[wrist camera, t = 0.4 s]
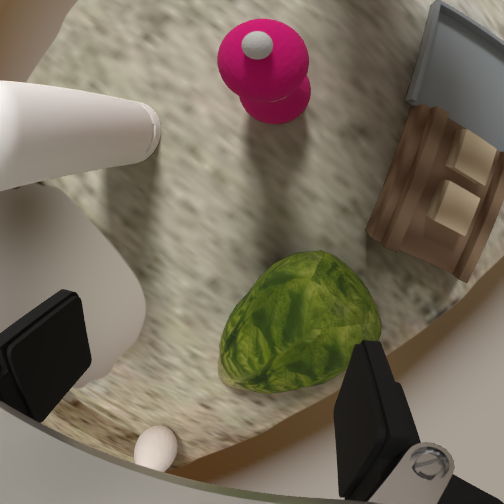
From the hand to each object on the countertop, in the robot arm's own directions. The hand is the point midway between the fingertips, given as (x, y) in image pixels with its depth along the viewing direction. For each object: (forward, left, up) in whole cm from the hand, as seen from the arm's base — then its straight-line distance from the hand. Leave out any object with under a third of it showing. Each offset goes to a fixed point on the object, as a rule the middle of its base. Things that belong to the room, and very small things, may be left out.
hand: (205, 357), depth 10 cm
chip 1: (-14, +18, -25) cm, 34 cm away
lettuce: (+14, +6, -30) cm, 33 cm away
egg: (+46, -5, -29) cm, 55 cm away
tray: (-25, +18, -29) cm, 43 cm away
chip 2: (-8, +18, -25) cm, 32 cm away
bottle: (-3, -20, -29) cm, 35 cm away
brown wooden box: (-9, +18, -29) cm, 36 cm away
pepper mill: (-12, -4, -29) cm, 32 cm away
